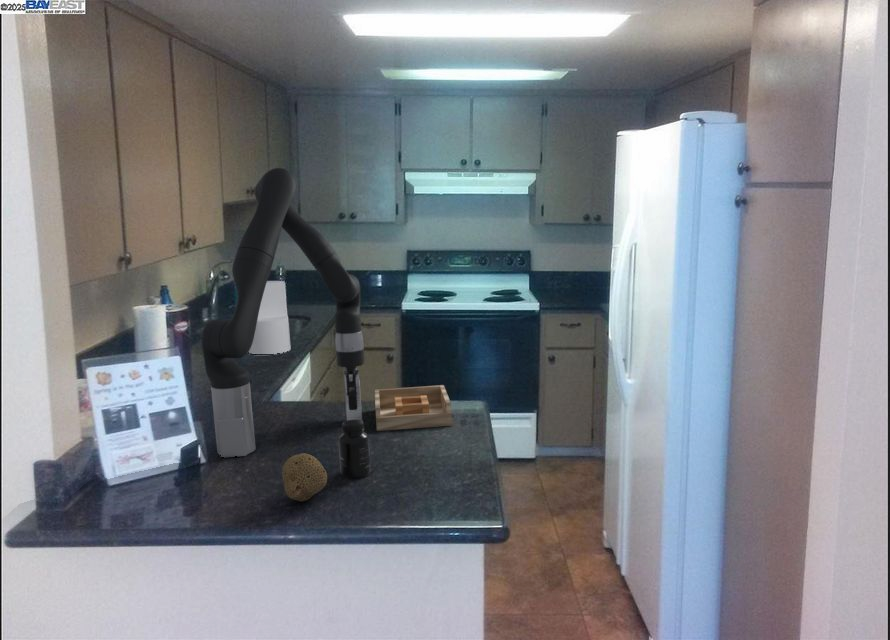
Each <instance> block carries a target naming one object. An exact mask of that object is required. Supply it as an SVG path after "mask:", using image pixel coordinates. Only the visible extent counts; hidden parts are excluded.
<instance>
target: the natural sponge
mask: <svg viewBox="0 0 890 640" xmlns="http://www.w3.org/2000/svg"><path fill="white" fill-rule="evenodd" d="M281 475H282V482H283V488H284V492H285V494H286V496H287V497H288V498H289V499H291V500H296V501H298V502H306V501H308V500H310V499H311V498H312V497H313V496H314V495H315V494H317V493H319V492H320V491H322V490H323V489H324V488H325V486H326V485H327V482H328V474H327V471H326V469H325V468H324V466H323V465H322V463H321V462H320V460H318V458H316V457H315V456H314V455H311V454H309V453H305V452H302V453H299V454H296V455H292V456H291V457H290V458H288V459H287V460H286V461H285V462H284V464H283V466H282V468H281Z"/></svg>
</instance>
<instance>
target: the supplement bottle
mask: <svg viewBox="0 0 890 640" xmlns="http://www.w3.org/2000/svg"><path fill="white" fill-rule="evenodd" d="M341 431H342V434H340V436H339V437H338V454H339V455H338V456H339V470H340V475H341V476H342V477H343V478H344V479H349V480H350V479H351V480H355V479H356V480H357V479H362V478H365V477H367V476H369V475H370V473H371V470H372V468H371V467H372V465H371V450H370V449H371V448H370V437H369V434H368V433H367V432H365V424H364V421H363V420H362V421H361V420H348V421H347V420H345V421H343V422H342V423H341Z"/></svg>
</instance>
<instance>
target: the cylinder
mask: <svg viewBox="0 0 890 640" xmlns="http://www.w3.org/2000/svg"><path fill="white" fill-rule="evenodd" d="M286 295H287V294H286V282H285V281H284V280H267V283H266V286H265V290H264V293H263V297H262V301H261V305H260V309H259V314H258V319H257V325H256V330H255V335H254V339H253V343H252V346H251V348H250V350H249V353H252V354H274V355H278V354H277V353H280V354H283V352H284V353H287V351H288V352H290V351H291V349H292V347H291V336H290V323H289V316H288V308H287V307H288V304H287V296H286Z"/></svg>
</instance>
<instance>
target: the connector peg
mask: <svg viewBox="0 0 890 640" xmlns="http://www.w3.org/2000/svg"><path fill="white" fill-rule="evenodd" d="M344 385H345V379H344ZM351 391H355V390H354V389H350V390H349V392H351ZM344 394H345V397H344V398H345V411H346V421H348V420H361V421H363V413H362V398H361V382H360V378H359V379H358V389H357V410H350V409H349V400H348V396H347V389H346V387H345V386H344Z"/></svg>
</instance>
